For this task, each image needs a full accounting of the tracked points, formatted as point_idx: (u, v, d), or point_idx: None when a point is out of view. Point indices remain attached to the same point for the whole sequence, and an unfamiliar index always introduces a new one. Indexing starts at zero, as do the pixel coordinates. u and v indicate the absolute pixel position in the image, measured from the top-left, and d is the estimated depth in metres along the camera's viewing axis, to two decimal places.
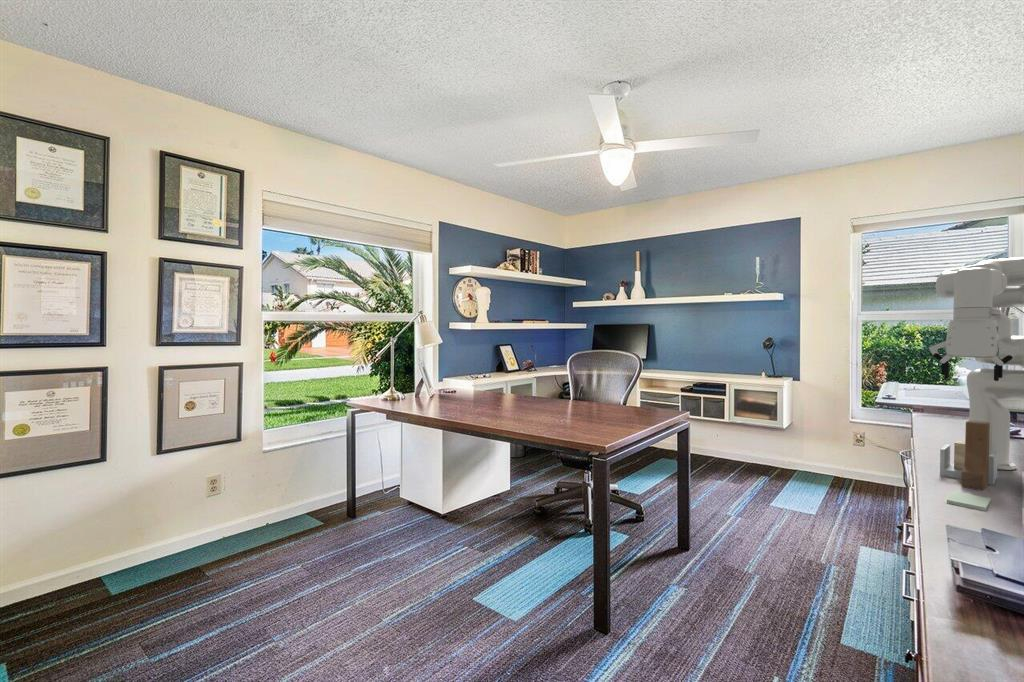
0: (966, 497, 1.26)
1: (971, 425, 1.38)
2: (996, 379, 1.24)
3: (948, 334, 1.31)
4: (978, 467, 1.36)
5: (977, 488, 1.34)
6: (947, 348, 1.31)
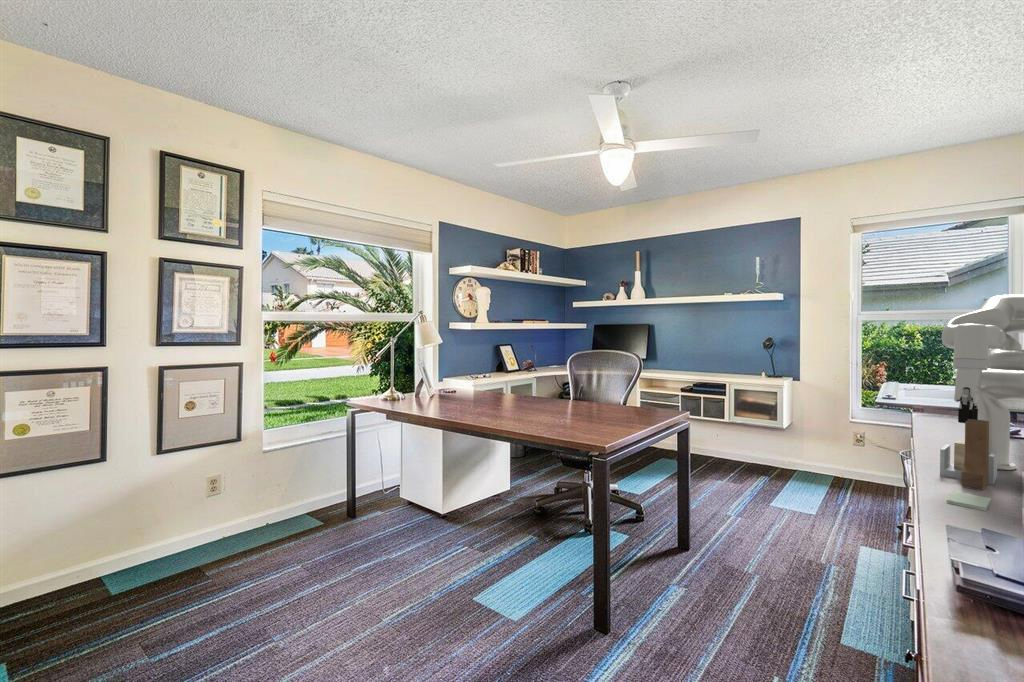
0: (966, 497, 1.26)
1: (970, 425, 1.37)
2: None
3: (976, 383, 1.41)
4: (977, 467, 1.36)
5: (977, 488, 1.34)
6: (976, 396, 1.41)
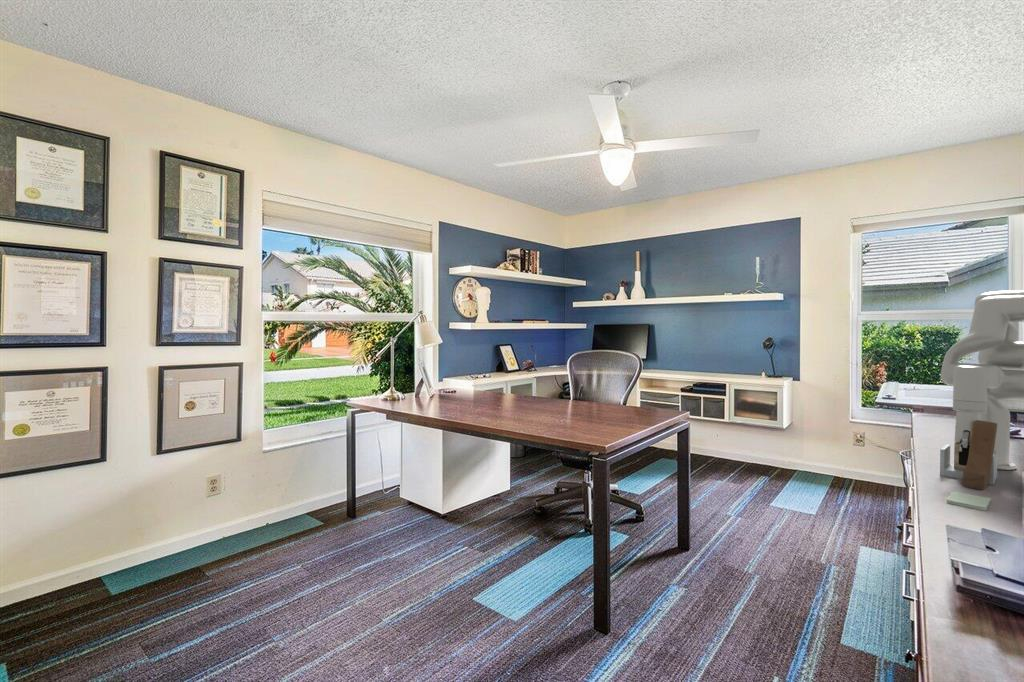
0: (966, 497, 1.26)
1: (978, 425, 1.37)
2: None
3: None
4: (980, 467, 1.36)
5: (977, 488, 1.34)
6: None
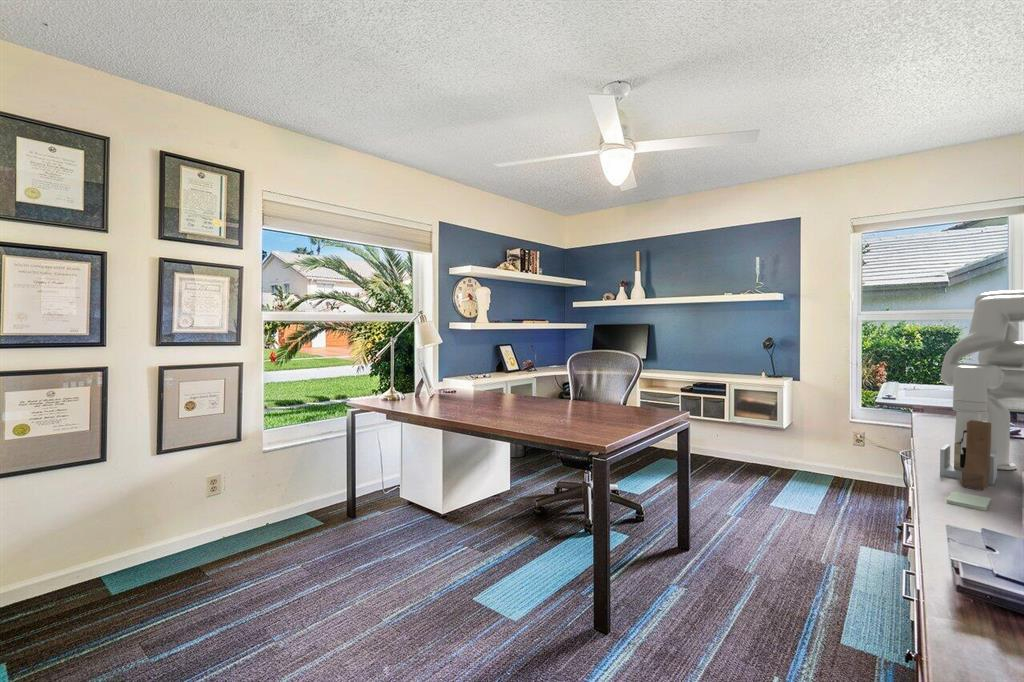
0: (966, 497, 1.26)
1: (972, 425, 1.38)
2: None
3: None
4: (978, 467, 1.36)
5: (977, 488, 1.34)
6: None
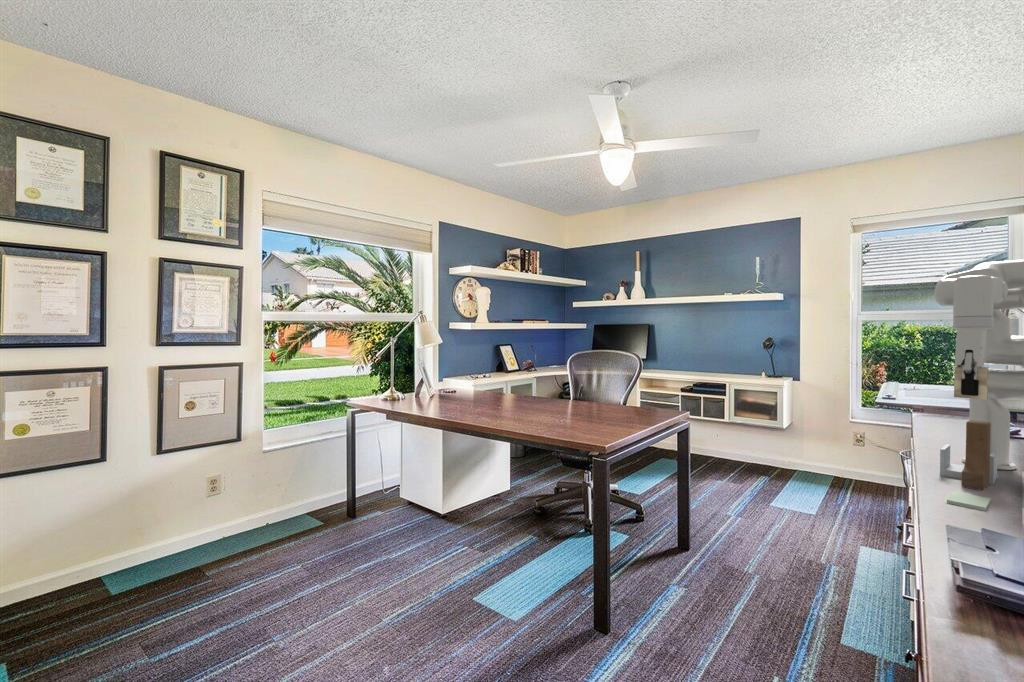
0: (966, 497, 1.26)
1: (971, 425, 1.38)
2: None
3: (980, 344, 1.21)
4: (978, 467, 1.36)
5: (977, 488, 1.34)
6: (980, 359, 1.21)
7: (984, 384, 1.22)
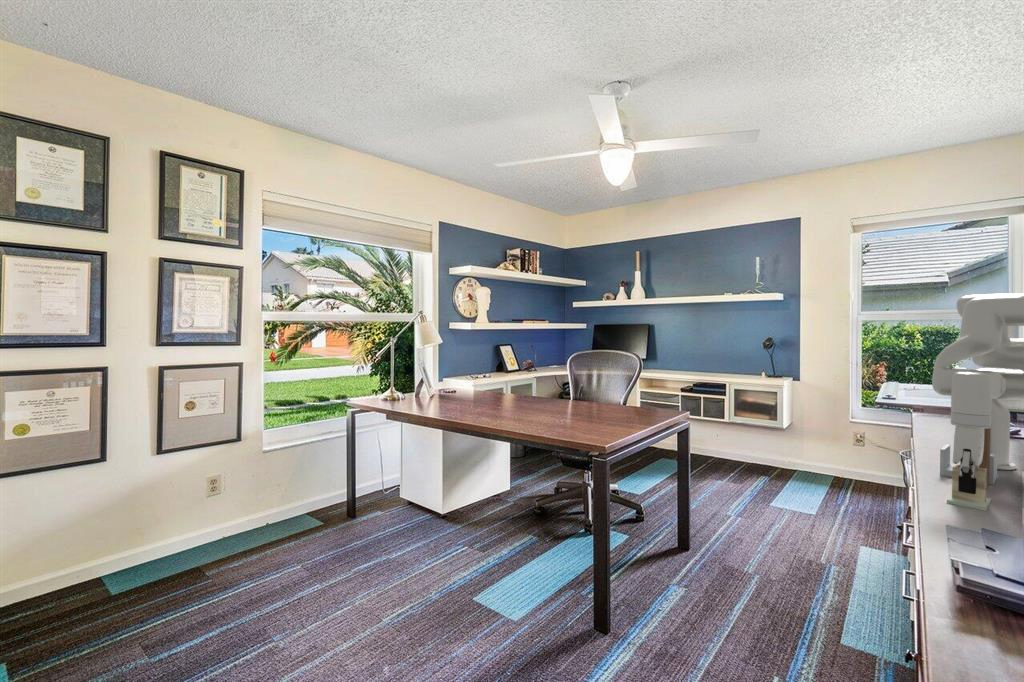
0: None
1: None
2: None
3: (978, 444, 1.20)
4: None
5: None
6: (978, 459, 1.20)
7: (982, 488, 1.21)
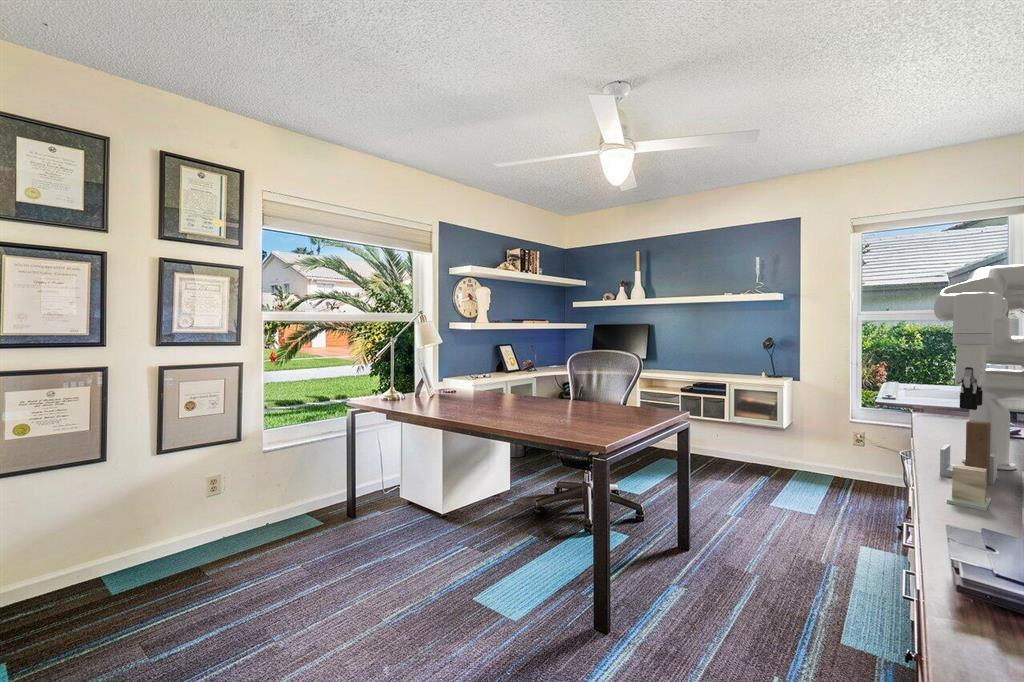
0: None
1: (971, 425, 1.38)
2: (982, 404, 1.27)
3: (980, 362, 1.20)
4: (978, 467, 1.36)
5: None
6: (980, 377, 1.20)
7: (982, 488, 1.21)
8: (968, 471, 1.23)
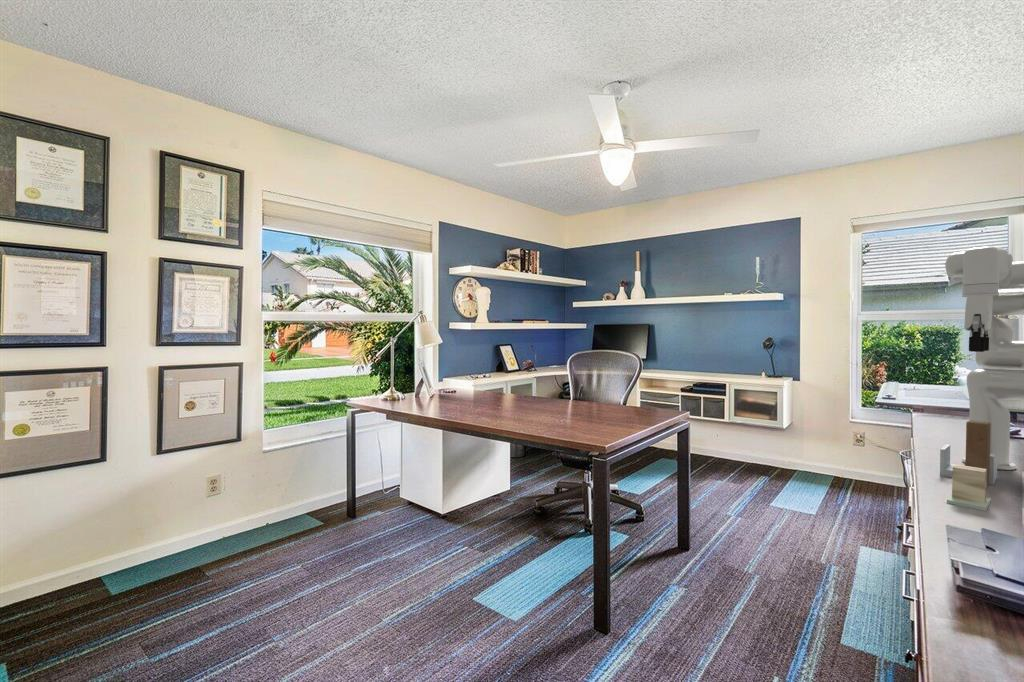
0: None
1: (971, 425, 1.38)
2: (988, 349, 1.41)
3: (987, 308, 1.34)
4: (978, 467, 1.36)
5: None
6: (987, 322, 1.34)
7: (982, 488, 1.21)
8: (968, 471, 1.23)
